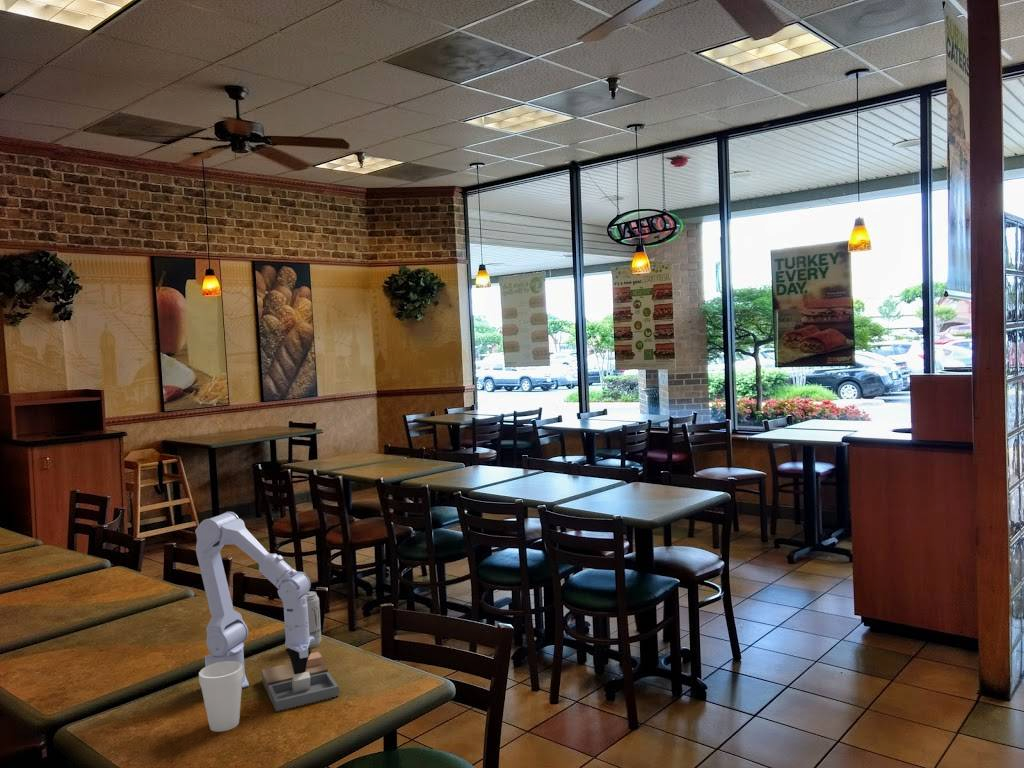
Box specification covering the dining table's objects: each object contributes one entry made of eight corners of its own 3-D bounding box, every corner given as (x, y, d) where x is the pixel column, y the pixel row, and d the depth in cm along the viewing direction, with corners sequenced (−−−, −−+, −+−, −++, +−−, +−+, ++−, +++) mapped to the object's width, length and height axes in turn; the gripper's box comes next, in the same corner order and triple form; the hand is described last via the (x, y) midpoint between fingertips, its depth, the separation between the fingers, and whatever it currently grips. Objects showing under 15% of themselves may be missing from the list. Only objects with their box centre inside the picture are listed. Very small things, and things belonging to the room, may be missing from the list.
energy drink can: (315, 649, 219) (312, 597, 219) (296, 648, 221) (293, 597, 220) (325, 641, 225) (322, 590, 225) (306, 640, 226) (303, 590, 226)
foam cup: (210, 716, 181) (206, 662, 180) (250, 713, 182) (247, 659, 181) (197, 736, 171) (193, 679, 171) (239, 733, 172) (236, 676, 171)
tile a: (291, 686, 192) (293, 692, 190) (292, 675, 190) (294, 681, 189) (308, 682, 194) (309, 688, 192) (308, 671, 192) (310, 677, 190)
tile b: (306, 667, 199) (306, 660, 199) (303, 662, 203) (303, 655, 203) (322, 664, 201) (321, 656, 201) (318, 659, 205) (318, 651, 204)
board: (268, 694, 191) (267, 683, 191) (262, 680, 199) (261, 669, 199) (328, 680, 198) (328, 669, 198) (320, 667, 206) (319, 656, 206)
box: (276, 711, 182) (275, 701, 182) (268, 695, 191) (268, 685, 191) (338, 696, 188) (338, 686, 188) (328, 681, 198) (328, 671, 197)
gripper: (319, 628, 187) (322, 683, 188) (306, 611, 200) (309, 662, 201) (289, 634, 184) (293, 690, 185) (278, 617, 197) (281, 669, 197)
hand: (299, 676), depth 192 cm, fingers closed
